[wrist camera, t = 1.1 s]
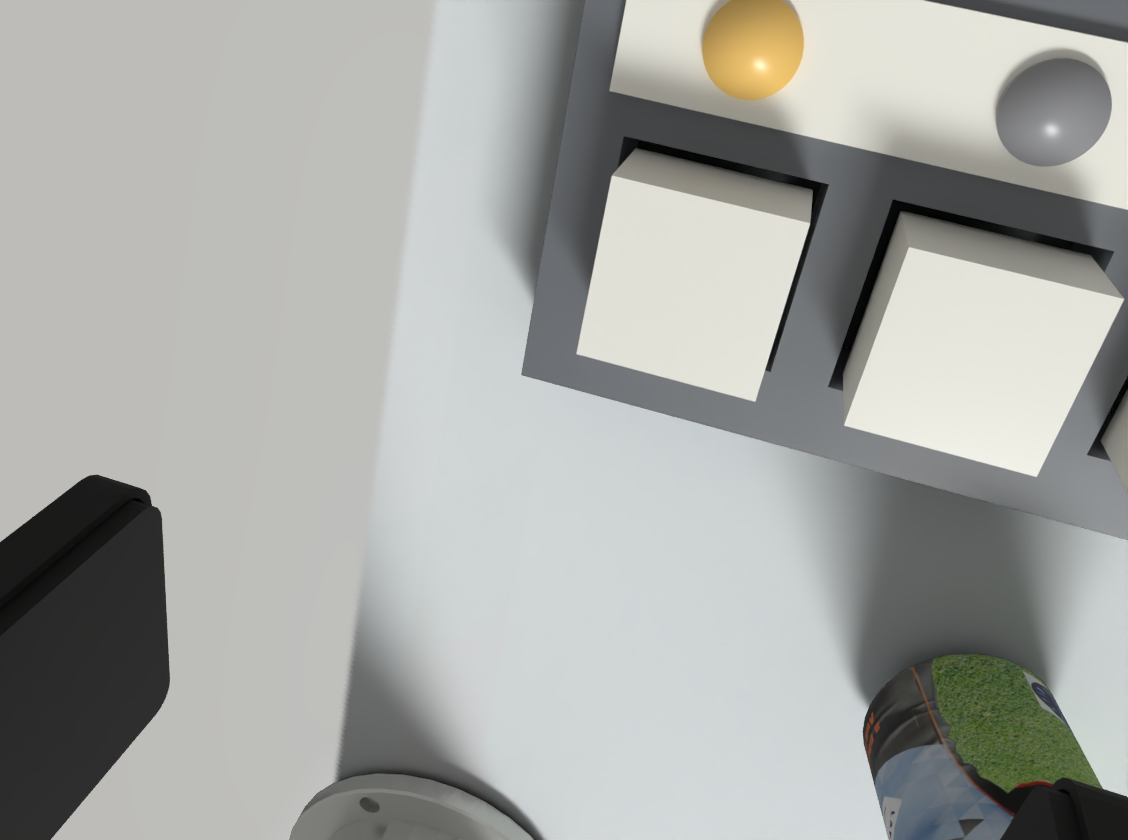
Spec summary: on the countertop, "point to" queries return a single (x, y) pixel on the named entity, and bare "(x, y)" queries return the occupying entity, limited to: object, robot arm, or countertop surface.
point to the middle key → (976, 342)
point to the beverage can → (965, 747)
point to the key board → (858, 192)
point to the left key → (693, 271)
